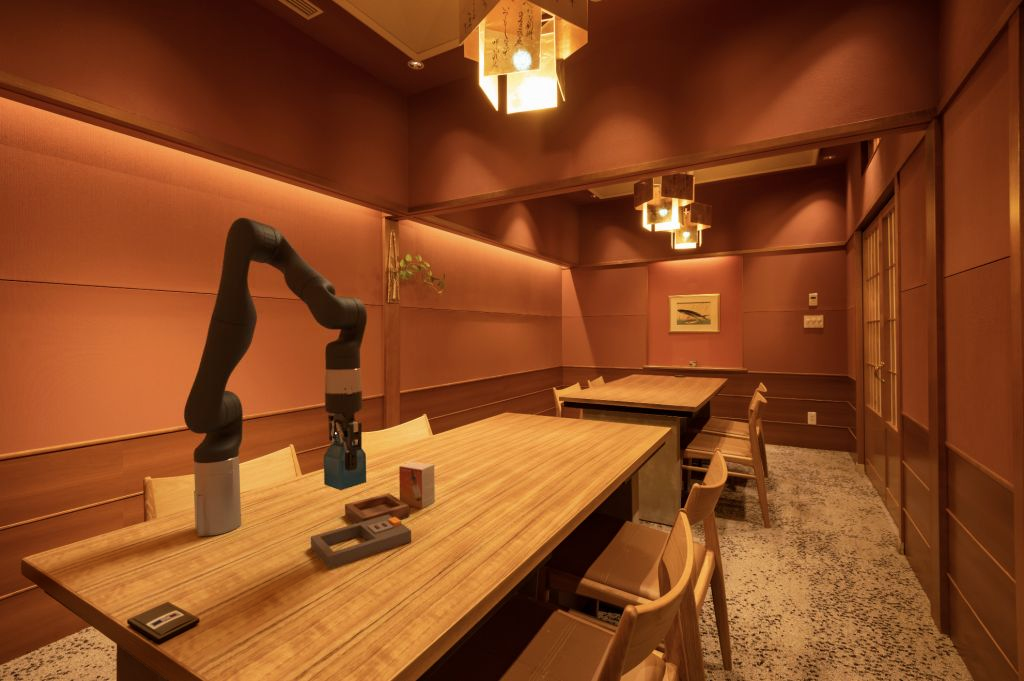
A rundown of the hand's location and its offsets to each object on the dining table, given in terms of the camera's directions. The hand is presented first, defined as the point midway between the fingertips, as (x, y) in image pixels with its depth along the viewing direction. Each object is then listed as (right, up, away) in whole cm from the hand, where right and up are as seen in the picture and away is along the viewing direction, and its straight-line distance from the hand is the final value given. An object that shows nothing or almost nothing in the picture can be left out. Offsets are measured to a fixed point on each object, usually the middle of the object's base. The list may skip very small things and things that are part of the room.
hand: (345, 465), depth 99 cm
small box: (+10, -18, +26) cm, 33 cm away
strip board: (+3, -18, +2) cm, 18 cm away
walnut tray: (+2, -18, +18) cm, 25 cm away
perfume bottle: (0, -4, 0) cm, 4 cm away
